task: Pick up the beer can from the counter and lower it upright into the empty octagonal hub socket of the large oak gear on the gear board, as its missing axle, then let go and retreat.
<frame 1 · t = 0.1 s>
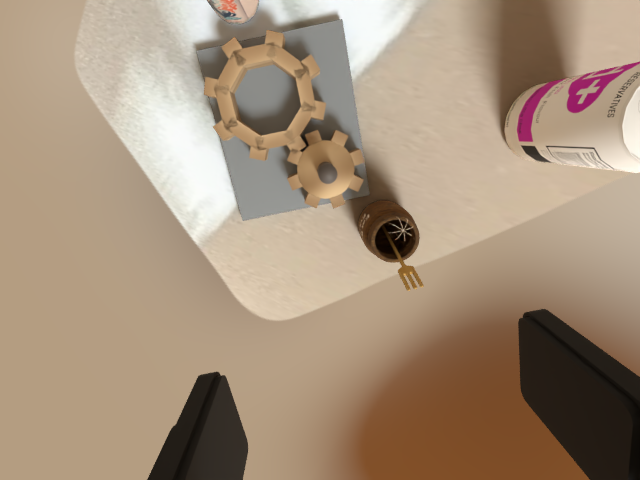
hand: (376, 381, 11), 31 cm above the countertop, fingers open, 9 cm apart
supplement can: (535, 123, 39), on the countertop
gear board: (289, 127, 38), on the countertop
oak gear: (268, 101, 36), resting on gear board
utensil holder: (381, 223, 42), on the countertop
small gear: (324, 168, 38), resting on gear board
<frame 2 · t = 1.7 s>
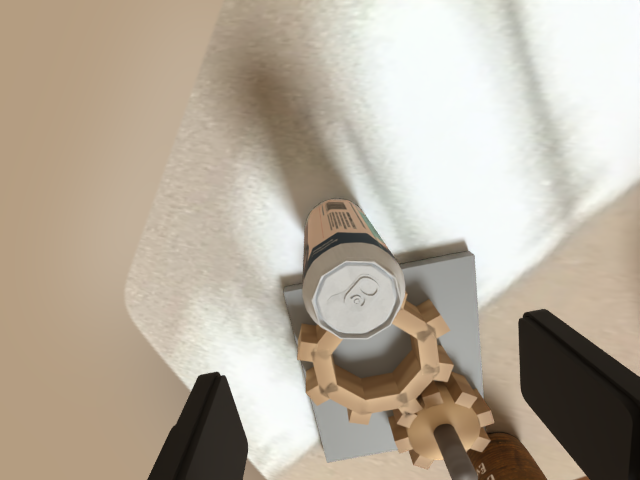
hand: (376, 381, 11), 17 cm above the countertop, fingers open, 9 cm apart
gear board: (390, 361, 30), on the countertop
beer can: (335, 227, 27), on the countertop
oak gear: (370, 342, 28), resting on gear board
utensil holder: (492, 452, 34), on the countertop
small gear: (433, 408, 31), resting on gear board
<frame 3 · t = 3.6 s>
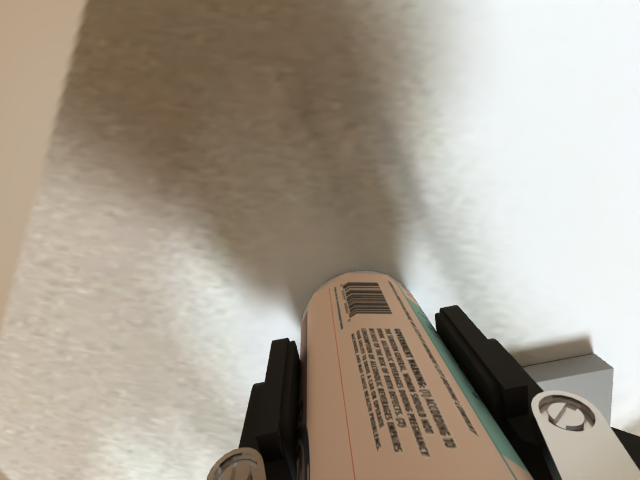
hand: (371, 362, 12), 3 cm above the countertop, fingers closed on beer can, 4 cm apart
beer can: (358, 316, 15), on the countertop, touching gripper
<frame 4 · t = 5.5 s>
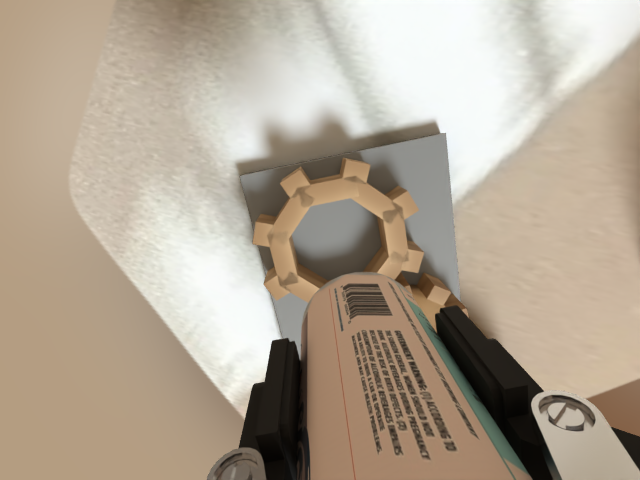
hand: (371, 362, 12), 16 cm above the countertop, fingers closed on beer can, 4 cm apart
gear board: (360, 265, 28), on the countertop
beer can: (358, 317, 15), point 13 cm above the countertop, touching gripper
oak gear: (336, 237, 26), resting on gear board
small gear: (407, 317, 28), resting on gear board
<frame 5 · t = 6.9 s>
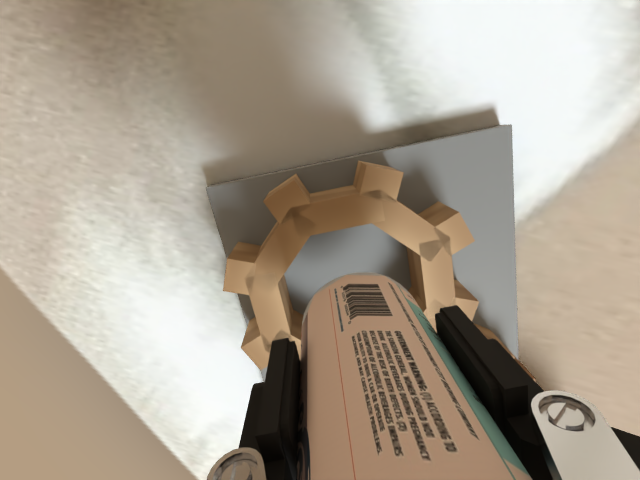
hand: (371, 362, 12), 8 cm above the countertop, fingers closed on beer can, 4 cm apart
gear board: (379, 309, 20), on the countertop
beer can: (358, 317, 15), point 5 cm above the countertop, touching gripper
oak gear: (347, 275, 18), resting on gear board
when the fingers open (5 cm above the countertop, at t = 7.9 s): beer can stays where it is, resting on gear board.
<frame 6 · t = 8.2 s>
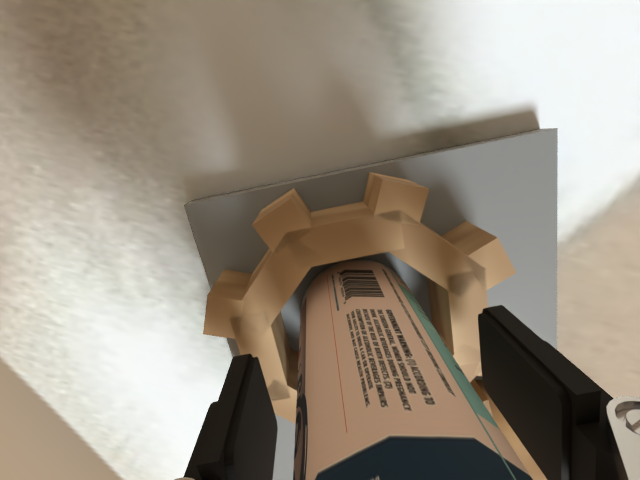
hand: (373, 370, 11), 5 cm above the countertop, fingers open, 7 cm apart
gear board: (392, 345, 17), on the countertop
beer can: (354, 303, 15), point 1 cm above the countertop, touching gear board
oak gear: (355, 308, 15), resting on gear board
small gear: (468, 429, 18), resting on gear board
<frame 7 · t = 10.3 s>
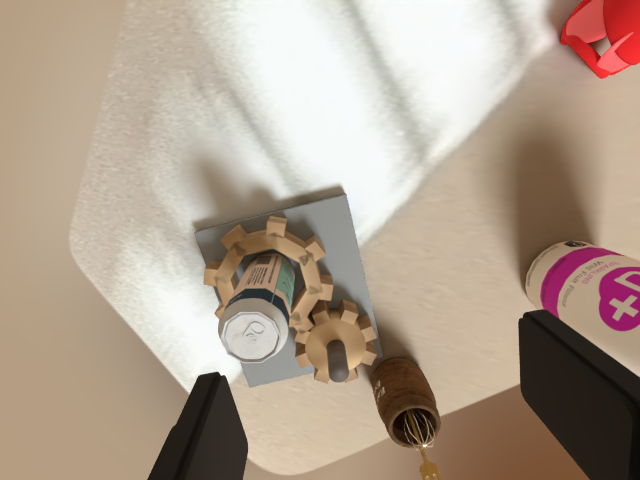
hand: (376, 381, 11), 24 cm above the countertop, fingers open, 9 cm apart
supplement can: (558, 275, 36), on the countertop
gear board: (294, 294, 36), on the countertop
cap: (587, 40, 31), on the countertop
beer can: (271, 273, 34), point 1 cm above the countertop, touching gear board
oak gear: (271, 275, 34), resting on gear board
utensil holder: (396, 378, 39), on the countertop
small gear: (334, 334, 36), resting on gear board
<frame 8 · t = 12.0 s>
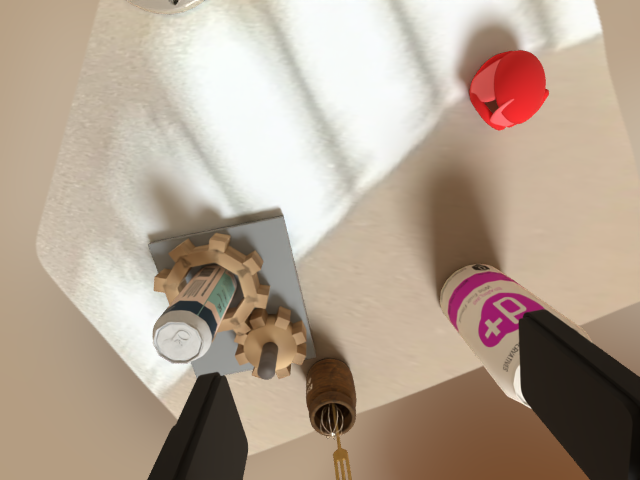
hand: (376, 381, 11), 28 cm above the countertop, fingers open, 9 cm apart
supplement can: (470, 292, 42), on the countertop
gear board: (238, 300, 41), on the countertop
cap: (493, 94, 35), on the countertop
beer can: (217, 281, 39), point 1 cm above the countertop, touching gear board
oak gear: (217, 283, 39), resting on gear board
utensil holder: (329, 376, 44), on the countertop
small gear: (272, 336, 41), resting on gear board
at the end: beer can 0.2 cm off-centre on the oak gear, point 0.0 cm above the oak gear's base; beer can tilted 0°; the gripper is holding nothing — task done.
